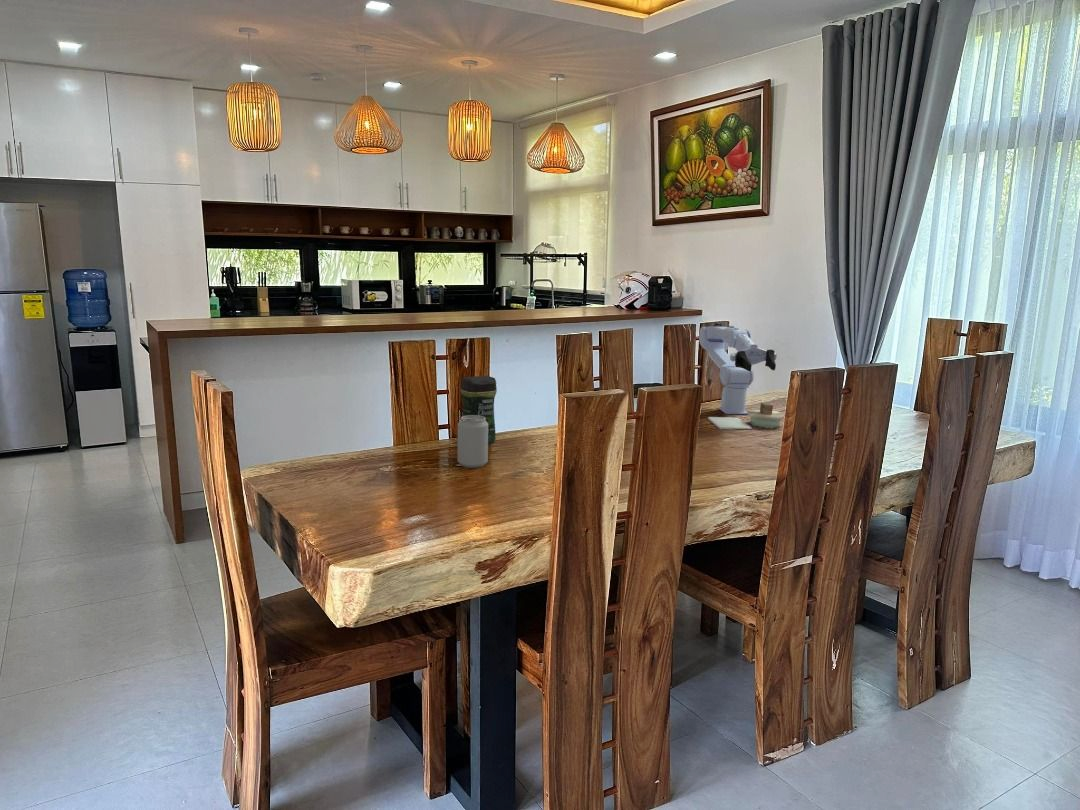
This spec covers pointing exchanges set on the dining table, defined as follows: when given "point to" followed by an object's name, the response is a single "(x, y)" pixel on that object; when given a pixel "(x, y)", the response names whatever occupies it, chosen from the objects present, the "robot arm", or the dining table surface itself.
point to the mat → (729, 423)
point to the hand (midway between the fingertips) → (762, 367)
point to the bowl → (764, 422)
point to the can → (472, 441)
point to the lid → (766, 412)
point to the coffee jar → (480, 400)
